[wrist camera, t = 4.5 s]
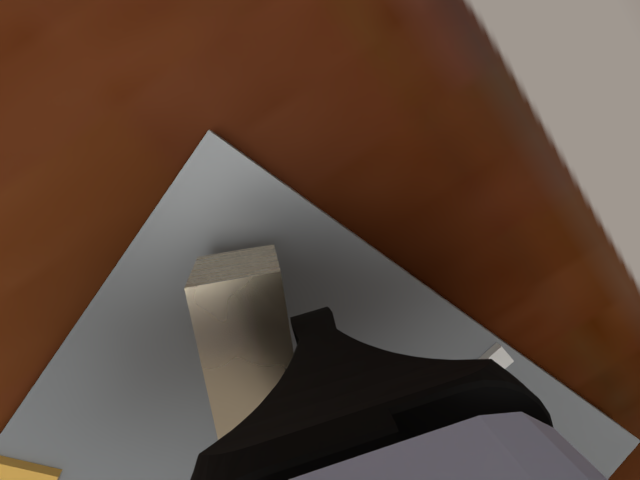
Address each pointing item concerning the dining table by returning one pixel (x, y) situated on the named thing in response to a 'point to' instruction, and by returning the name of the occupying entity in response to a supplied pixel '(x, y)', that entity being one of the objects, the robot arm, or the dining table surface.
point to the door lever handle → (239, 329)
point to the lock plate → (181, 348)
